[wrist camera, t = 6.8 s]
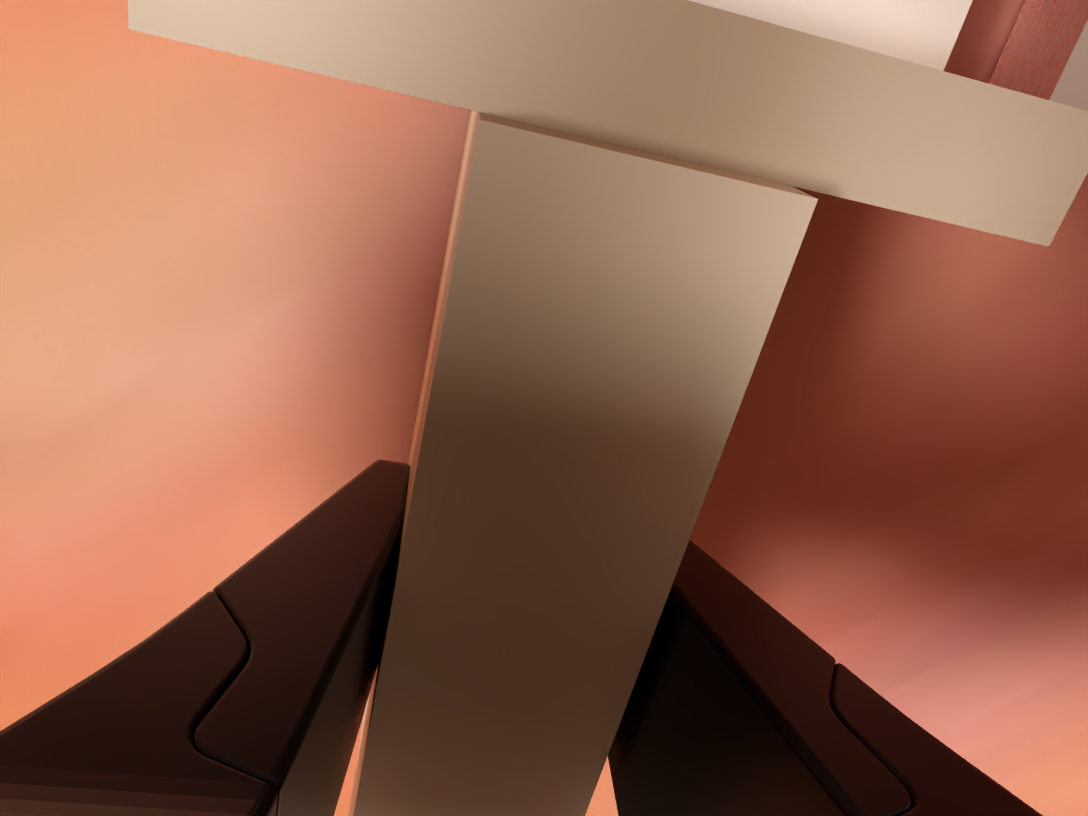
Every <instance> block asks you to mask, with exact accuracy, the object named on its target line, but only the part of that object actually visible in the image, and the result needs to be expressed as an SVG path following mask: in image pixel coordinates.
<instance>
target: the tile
mask: <svg viewBox="0 0 1088 816" xmlns="http://www.w3.org/2000/svg"><path fill="white" fill-rule="evenodd" d="M689 1H693V2H696V3H700V4H703V5H707V6H711V7H714V8H718V9H721V10H725V11H729V12H732V13H736V14H739V15H743V16H747V17H750V18H754V19H757V20H761V21H765V22H768V23H772V24H776V25H779V26H783V27H786V28H790V29H794V30H797V31H801V32H804V33H808V34H812V35H815V36H819V37H822V38H826V39H830V40H833V41H837V42H840V43H844V44H848V45H851V46H855V47H858V48H862V49H866V50H869V51H873V52H877V53H880V54H884V55H887V56H891V57H895V58H898V59H902V60H905V61H909V62H913V63H916V64H920V65H923V66H927V67H931V68H934V69H938V70H941V71H944V68H945V66H946V64H947V61H948V59H949V56H950V54H951V52H952V49H953V47H954V44H955V42H956V40H957V37H958V35H959V32H960V30H961V28H962V25H963V23H964V20H965V18H966V16H967V13H968V11H969V8H970V6H971V4H972V1H973V0H689Z"/></svg>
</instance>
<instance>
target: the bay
mask: <svg viewBox="0 0 1088 816" xmlns="http://www.w3.org/2000/svg"><path fill="white" fill-rule="evenodd" d="M988 84H992V85H996V86H999V87H1003V88H1006V89H1010V90H1014V91H1017V92H1021V93H1024V94H1028V95H1032V96H1035V97H1039V98H1042V99H1046V100H1050V101H1053V102H1057V103H1060V104H1064V105H1068V106H1071V107H1075V108H1078V109H1082V110H1086V111H1088V0H1025V2H1024V5H1023V7H1022V9H1021V11H1020V14H1019V16H1018V18H1017V20H1016V23H1015V25H1014V27H1013V29H1012V32H1011V34H1010V36H1009V38H1008V41H1007V43H1006V45H1005V47H1004V50H1003V52H1002V54H1001V56H1000V59H999V61H998V63H997V65H996V68H995V70H994V72H993V74H992V77H991V79H990V81H989V83H988ZM1087 174H1088V173H1087Z"/></svg>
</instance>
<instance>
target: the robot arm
mask: <svg viewBox="0 0 1088 816" xmlns="http://www.w3.org/2000/svg"><path fill="white" fill-rule="evenodd" d="M409 474H410V465H408V464H406V463H400V462H393V461H387V460H377V461H375V462H374V463H373V464H371V465H370V466H369V467H367V468H366V469H365V470H364V471H362V472H361V473H360V474H359V475H357V476H356V477H355V478H353V479H352V480H351V481H350V482H348V483H347V484H346V485H344V486H343V487H342V488H341V489H339V490H338V491H337V492H336V493H334V494H333V495H332V496H330V497H329V498H328V499H327V500H325V501H324V502H323V503H322V504H320V505H319V506H318V507H316V508H315V509H314V510H313V511H311V512H310V513H309V514H308V515H306V516H305V517H304V518H302V519H301V520H300V521H299V522H297V523H296V524H295V525H294V526H292V527H291V528H290V529H288V530H287V531H286V532H285V533H283V534H282V535H281V536H280V537H278V538H277V539H276V540H274V541H273V542H272V543H271V544H269V545H268V546H267V547H265V548H264V549H263V550H262V551H260V552H259V553H258V554H257V555H255V556H254V557H253V558H251V559H250V560H249V561H248V562H246V563H245V564H244V565H243V566H241V567H240V568H239V569H237V570H236V571H235V572H234V573H232V574H231V575H230V576H229V577H227V578H226V579H225V580H223V581H222V582H221V583H220V584H218V585H217V586H216V587H215V588H214V589H213V592H212V591H211V592H208V593H206V594H205V595H204V596H203V597H201V598H200V599H199V600H197V601H196V602H195V603H194V604H192V605H191V606H190V607H189V608H187V609H186V610H185V611H183V612H182V613H181V614H179V615H178V616H177V617H175V618H174V619H172V620H171V621H170V622H168V623H167V624H166V625H164V626H163V627H162V628H160V629H159V630H157V631H156V632H155V633H153V634H152V635H151V636H149V637H148V638H147V639H145V640H144V641H142V642H141V643H139V644H138V645H136V646H135V647H133V648H132V649H130V650H128V651H127V652H125V653H124V654H122V655H121V656H119V657H118V658H116V659H115V660H113V661H112V662H110V663H109V664H107V665H106V666H104V667H102V668H101V669H99V670H98V671H96V672H95V673H93V674H92V675H90V676H88V677H87V678H85V679H84V680H82V681H80V682H79V683H77V684H76V685H74V686H72V687H71V688H69V689H68V690H66V691H64V692H63V693H61V694H59V695H58V696H56V697H55V698H53V699H51V700H50V701H48V702H47V703H45V704H43V705H42V706H40V707H38V708H37V709H35V710H34V711H32V712H30V713H29V714H27V715H26V716H24V717H22V718H21V719H19V720H17V721H16V722H14V723H13V724H11V725H9V726H8V727H6V728H5V729H3V730H1V731H0V816H334V813H335V809H336V806H337V802H338V799H339V796H340V792H341V789H342V785H343V782H344V779H345V775H346V772H347V768H348V765H349V762H350V758H351V755H352V751H353V748H354V745H355V741H356V738H357V734H358V731H359V728H360V724H361V721H362V717H363V714H364V711H365V707H366V704H367V700H368V697H369V694H370V690H371V687H372V683H373V680H374V677H375V673H376V670H377V666H378V662H379V657H380V651H381V646H382V640H383V635H384V629H385V624H386V618H387V612H388V607H389V601H390V596H391V590H392V585H393V579H394V574H395V568H396V562H397V557H398V551H399V546H400V540H401V535H402V529H403V523H404V516H405V508H406V500H407V491H408V482H409ZM835 663H836V661H835V659H834V657H832V656H831V655H830V654H829V653H827V652H826V651H825V650H824V649H823V648H821V647H820V646H819V645H818V644H816V643H815V642H814V641H813V640H812V639H810V638H809V637H808V636H807V635H805V634H804V633H803V632H802V631H801V630H799V629H798V628H797V627H796V626H794V625H793V624H792V623H791V622H790V621H788V620H787V619H786V618H785V617H783V616H782V615H781V614H780V613H779V612H777V611H776V610H775V609H774V608H772V607H771V606H770V605H769V604H768V603H766V602H765V601H764V600H763V599H761V598H760V597H759V596H758V595H757V594H755V593H754V592H753V591H752V590H750V589H749V588H748V587H747V586H746V585H744V584H743V583H742V582H741V581H739V580H738V579H737V578H736V577H735V576H733V575H732V574H731V573H730V572H728V571H727V570H726V569H725V568H724V567H722V566H721V565H720V564H719V563H717V562H716V561H715V560H714V559H713V558H711V557H710V556H709V555H708V554H706V553H705V552H704V551H703V550H702V549H700V548H699V547H698V546H697V545H695V544H694V543H693V542H692V541H691V540H689V542H688V544H687V547H686V550H685V552H684V555H683V558H682V560H681V563H680V566H679V568H678V571H677V574H676V576H675V579H674V581H673V584H672V587H671V589H670V592H669V595H668V597H667V600H666V603H665V605H664V608H663V611H662V613H661V616H660V618H659V621H658V624H657V626H656V629H655V632H654V634H653V637H652V640H651V642H650V645H649V648H648V650H647V653H646V655H645V658H644V661H643V663H642V666H641V669H640V671H639V674H638V677H637V679H636V682H635V684H634V687H633V690H632V692H631V695H630V698H629V700H628V703H627V706H626V708H625V711H624V714H623V716H622V719H621V721H620V724H619V727H618V729H617V732H616V735H615V737H614V740H613V743H612V745H611V748H610V751H609V753H608V760H609V765H610V771H611V777H612V782H613V788H614V793H615V799H616V804H617V810H618V815H619V816H1042V815H1041V814H1040V813H1038V812H1037V811H1036V810H1034V809H1033V808H1031V807H1030V806H1029V805H1027V804H1026V803H1024V802H1023V801H1022V800H1020V799H1019V798H1018V797H1016V796H1015V795H1013V794H1012V793H1011V792H1009V791H1008V790H1007V789H1005V788H1004V787H1002V786H1001V785H1000V784H998V783H997V782H995V781H994V780H993V779H991V778H990V777H989V776H987V775H986V774H984V773H983V772H982V771H980V770H979V769H978V768H976V767H975V766H973V765H972V764H971V763H969V762H968V761H966V760H965V759H964V758H962V757H961V756H960V755H958V754H957V753H955V752H954V751H953V750H951V749H950V748H949V747H947V746H946V745H945V744H943V743H942V742H941V741H939V740H938V739H937V738H935V737H934V736H933V735H931V734H930V733H928V732H927V731H926V730H924V729H923V728H922V727H920V726H919V725H918V724H916V723H915V722H914V721H912V720H911V719H910V718H908V717H907V716H906V715H904V714H903V713H902V712H901V711H899V710H898V709H897V708H896V707H894V706H893V705H892V704H891V703H889V702H888V701H887V700H885V699H884V698H883V697H882V696H880V695H879V694H878V693H877V692H875V691H874V690H873V689H872V688H870V687H869V686H868V685H867V684H865V683H864V682H863V681H862V680H860V679H859V678H858V677H857V676H856V675H854V674H853V673H852V672H851V671H850V670H848V669H847V668H846V667H845V666H844V665H842V664H840V663H838V664H836V665H835Z"/></svg>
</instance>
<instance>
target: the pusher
mask: <svg viewBox="0 0 1088 816" xmlns="http://www.w3.org/2000/svg"><path fill="white" fill-rule="evenodd" d="M128 29H130V30H134V31H138V32H142V33H146V34H151V35H155V36H159V37H163V38H168V39H172V40H176V41H180V42H185V43H189V44H193V45H197V46H201V47H206V48H210V49H214V50H218V51H223V52H227V53H231V54H235V55H239V56H244V57H248V58H252V59H256V60H261V61H265V62H269V63H273V64H278V65H282V66H286V67H290V68H294V69H299V70H303V71H307V72H311V73H316V74H320V75H324V76H328V77H333V78H337V79H341V80H345V81H349V82H354V83H358V84H362V85H366V86H371V87H375V88H379V89H383V90H388V91H392V92H396V93H400V94H404V95H409V96H413V97H417V98H421V99H426V100H430V101H434V102H438V103H443V104H447V105H451V106H455V107H459V108H464V109H468V110H470V115H469V120H468V126H467V132H466V137H465V143H464V149H463V155H462V160H461V166H460V172H459V177H458V183H457V189H456V194H455V200H454V206H453V211H452V217H451V223H450V229H449V234H448V240H447V246H446V251H445V257H444V263H443V268H442V274H441V280H440V285H439V291H438V297H437V303H436V308H435V314H434V320H433V325H432V331H431V337H430V342H429V348H428V354H427V359H426V365H425V371H424V376H423V382H422V388H421V394H420V399H419V405H418V411H417V416H416V422H415V428H414V433H413V439H412V445H411V450H410V456H409V462H408V465H410V474H409V482H408V491H407V500H406V508H405V516H404V523H403V529H402V535H401V540H400V546H399V551H398V557H397V562H396V568H395V574H394V579H393V585H392V590H391V596H390V601H389V607H388V612H387V618H386V624H385V629H384V635H383V640H382V646H381V651H380V657H379V662H378V666H377V670H376V673H375V677H374V680H373V683H372V687H371V690H370V694H369V697H368V700H367V704H366V707H365V712H364V718H363V725H362V731H361V738H360V744H359V751H358V757H357V764H356V770H355V777H354V783H353V790H352V796H351V803H350V809H349V816H585V814H586V811H587V809H588V806H589V803H590V801H591V798H592V795H593V793H594V790H595V788H596V785H597V782H598V780H599V777H600V774H601V772H602V769H603V766H604V764H605V761H606V758H607V756H608V753H609V751H610V748H611V745H612V743H613V740H614V737H615V735H616V732H617V729H618V727H619V724H620V721H621V719H622V716H623V714H624V711H625V708H626V706H627V703H628V700H629V698H630V695H631V692H632V690H633V687H634V684H635V682H636V679H637V677H638V674H639V671H640V669H641V666H642V663H643V661H644V658H645V655H646V653H647V650H648V648H649V645H650V642H651V640H652V637H653V634H654V632H655V629H656V626H657V624H658V621H659V618H660V616H661V613H662V611H663V608H664V605H665V603H666V600H667V597H668V595H669V592H670V589H671V587H672V584H673V581H674V579H675V576H676V574H677V571H678V568H679V566H680V563H681V560H682V558H683V555H684V552H685V550H686V547H687V544H688V542H689V539H690V537H691V534H692V531H693V529H694V526H695V523H696V521H697V518H698V515H699V513H700V510H701V508H702V505H703V502H704V500H705V497H706V494H707V492H708V489H709V486H710V484H711V481H712V478H713V476H714V473H715V471H716V468H717V465H718V463H719V460H720V457H721V455H722V452H723V449H724V447H725V444H726V441H727V439H728V436H729V434H730V431H731V428H732V426H733V423H734V420H735V418H736V415H737V412H738V410H739V407H740V404H741V402H742V399H743V397H744V394H745V391H746V389H747V386H748V383H749V381H750V378H751V375H752V373H753V370H754V368H755V365H756V362H757V360H758V357H759V354H760V352H761V349H762V346H763V344H764V341H765V338H766V336H767V333H768V331H769V328H770V325H771V323H772V320H773V317H774V315H775V312H776V309H777V307H778V304H779V301H780V299H781V296H782V294H783V291H784V288H785V286H786V283H787V280H788V278H789V275H790V272H791V270H792V267H793V264H794V262H795V259H796V257H797V254H798V251H799V249H800V246H801V243H802V241H803V238H804V235H805V233H806V230H807V228H808V225H809V222H810V220H811V217H812V214H813V212H814V209H815V206H816V204H817V201H818V199H817V198H815V197H813V196H811V195H809V194H807V193H805V192H803V191H801V190H799V189H796V188H794V187H798V188H802V189H806V190H810V191H815V192H819V193H823V194H827V195H832V196H836V197H840V198H844V199H849V200H853V201H857V202H861V203H865V204H870V205H874V206H878V207H882V208H887V209H891V210H895V211H899V212H904V213H908V214H912V215H916V216H920V217H925V218H929V219H933V220H937V221H942V222H946V223H950V224H954V225H959V226H963V227H967V228H971V229H975V230H980V231H984V232H988V233H992V234H997V235H1001V236H1005V237H1009V238H1013V239H1018V240H1022V241H1026V242H1030V243H1035V244H1039V245H1043V246H1047V247H1049V246H1050V244H1051V242H1052V240H1053V238H1054V237H1055V235H1056V233H1057V231H1058V229H1059V227H1060V225H1061V223H1062V221H1063V219H1064V217H1065V215H1066V213H1067V212H1068V210H1069V208H1070V206H1071V204H1072V202H1073V200H1074V198H1075V196H1076V194H1077V192H1078V190H1079V189H1080V187H1081V185H1082V183H1083V181H1084V179H1085V177H1086V175H1087V173H1088V111H1086V110H1082V109H1078V108H1075V107H1071V106H1068V105H1064V104H1060V103H1057V102H1053V101H1050V100H1046V99H1042V98H1039V97H1035V96H1032V95H1028V94H1024V93H1021V92H1017V91H1014V90H1010V89H1006V88H1003V87H999V86H996V85H992V84H988V83H985V82H981V81H978V80H974V79H970V78H967V77H963V76H959V75H956V74H952V73H949V72H945V71H941V70H938V69H934V68H931V67H927V66H923V65H920V64H916V63H913V62H909V61H905V60H902V59H898V58H895V57H891V56H887V55H884V54H880V53H877V52H873V51H869V50H866V49H862V48H858V47H855V46H851V45H848V44H844V43H840V42H837V41H833V40H830V39H826V38H822V37H819V36H815V35H812V34H808V33H804V32H801V31H797V30H794V29H790V28H786V27H783V26H779V25H776V24H772V23H768V22H765V21H761V20H757V19H754V18H750V17H747V16H743V15H739V14H736V13H732V12H729V11H725V10H721V9H718V8H714V7H711V6H707V5H703V4H700V3H696V2H693V1H689V0H128ZM792 186H794V187H792Z"/></svg>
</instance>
